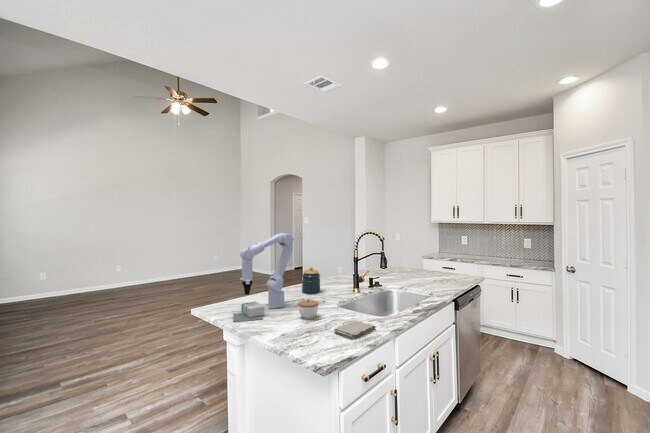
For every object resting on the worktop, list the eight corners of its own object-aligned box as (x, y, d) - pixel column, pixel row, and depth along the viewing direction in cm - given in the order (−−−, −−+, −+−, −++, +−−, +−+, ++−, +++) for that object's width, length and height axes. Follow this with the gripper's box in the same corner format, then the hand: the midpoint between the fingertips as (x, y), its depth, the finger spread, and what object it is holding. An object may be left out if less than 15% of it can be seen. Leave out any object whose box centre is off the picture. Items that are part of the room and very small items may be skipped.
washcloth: (332, 334, 144) (332, 327, 144) (356, 324, 157) (356, 318, 157) (353, 341, 136) (353, 334, 136) (376, 330, 149) (376, 324, 149)
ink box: (241, 312, 173) (249, 318, 163) (241, 303, 173) (249, 308, 163) (255, 309, 178) (264, 315, 168) (255, 300, 178) (264, 305, 168)
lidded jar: (309, 312, 174) (309, 295, 174) (322, 317, 167) (322, 299, 166) (294, 316, 167) (294, 299, 167) (307, 321, 159) (307, 303, 159)
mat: (261, 312, 174) (261, 311, 174) (263, 319, 162) (263, 318, 162) (233, 314, 170) (233, 313, 170) (233, 322, 158) (233, 321, 158)
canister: (320, 294, 213) (320, 268, 213) (301, 294, 213) (301, 268, 213) (320, 289, 226) (320, 265, 226) (302, 289, 226) (302, 265, 226)
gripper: (239, 268, 180) (239, 291, 181) (240, 272, 166) (240, 298, 167) (252, 267, 182) (252, 290, 182) (253, 272, 168) (253, 297, 169)
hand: (247, 294), depth 175 cm, fingers closed
